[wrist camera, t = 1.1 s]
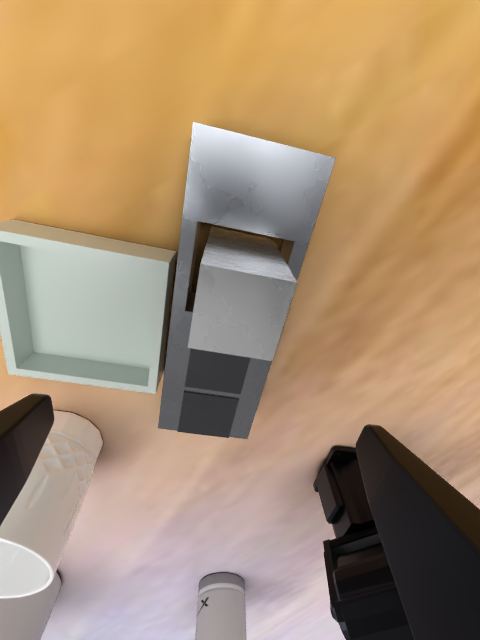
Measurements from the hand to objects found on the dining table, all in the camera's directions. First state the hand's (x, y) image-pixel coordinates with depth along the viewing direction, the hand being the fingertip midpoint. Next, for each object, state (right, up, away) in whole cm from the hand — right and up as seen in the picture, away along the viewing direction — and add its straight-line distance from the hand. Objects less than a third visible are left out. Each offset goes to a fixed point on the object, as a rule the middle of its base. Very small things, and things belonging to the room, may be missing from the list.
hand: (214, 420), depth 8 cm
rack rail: (0, +4, +13) cm, 13 cm away
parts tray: (-9, +4, +12) cm, 16 cm away
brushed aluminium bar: (0, +7, +11) cm, 13 cm away
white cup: (-15, -8, +19) cm, 25 cm away
